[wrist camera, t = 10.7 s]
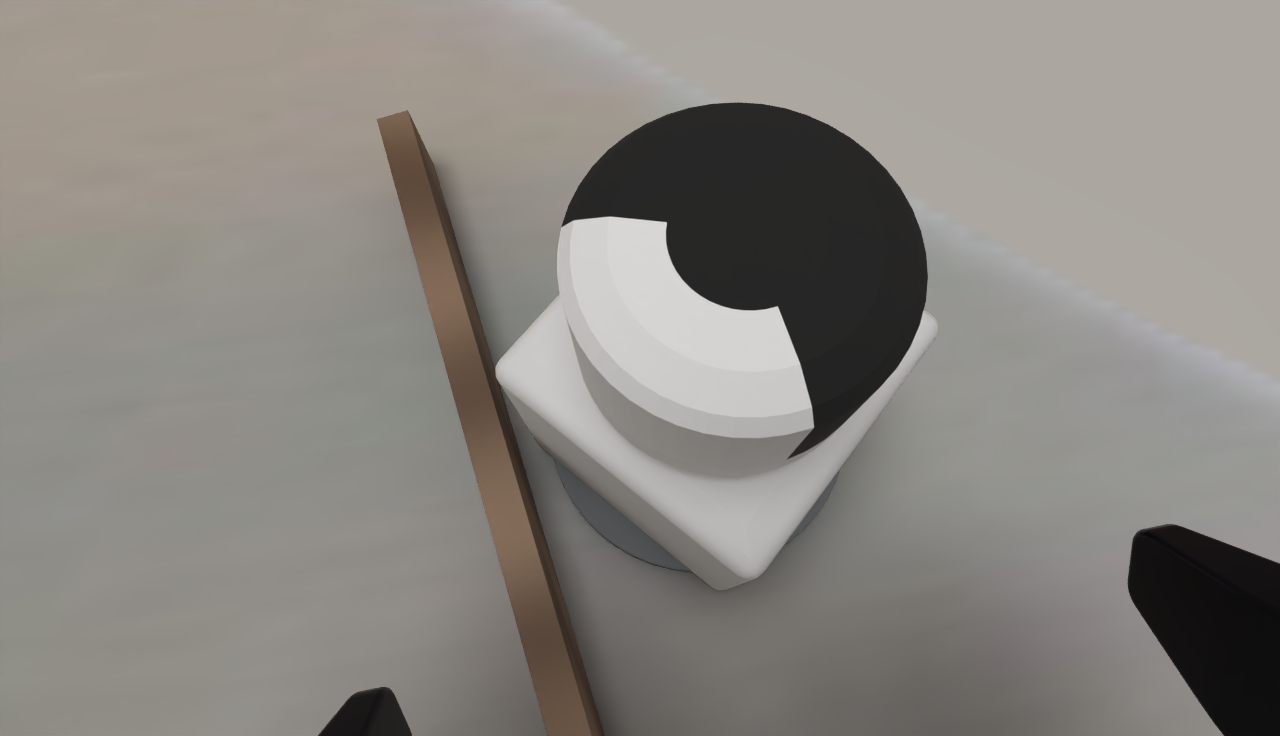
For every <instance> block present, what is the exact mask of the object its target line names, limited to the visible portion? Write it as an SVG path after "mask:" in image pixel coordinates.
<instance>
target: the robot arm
mask: <svg viewBox="0 0 1280 736" xmlns="http://www.w3.org/2000/svg"><path fill="white" fill-rule="evenodd" d="M1128 590H1129V594H1130V597H1131V599H1132V601H1133V603H1134V605H1135V606H1136V608H1137V609H1138V611H1139V612H1140V614H1141V615H1142V617H1143V618H1144V620H1145V621H1146V623H1147V624H1148V626H1149V627H1150V629H1151V630H1152V632H1153V633H1154V635H1155V636H1156V638H1157V639H1158V641H1159V642H1160V644H1161V645H1162V647H1163V648H1164V650H1165V651H1166V653H1167V654H1168V656H1169V657H1170V659H1171V660H1172V662H1173V663H1174V665H1175V666H1176V668H1177V669H1178V671H1179V672H1180V674H1181V675H1182V677H1183V678H1184V680H1185V681H1186V683H1187V684H1188V686H1189V687H1190V689H1191V690H1192V692H1193V693H1194V695H1195V696H1196V698H1197V699H1198V701H1199V702H1200V704H1201V705H1202V707H1203V708H1204V709H1205V711H1206V712H1207V714H1208V715H1209V717H1210V718H1211V719H1212V721H1213V722H1214V723H1215V725H1216V726H1217V727H1218V729H1219V730H1220V731H1221V732H1222V734H1223V735H1224V736H1280V563H1277V562H1274V561H1272V560H1269V559H1266V558H1264V557H1261V556H1258V555H1256V554H1253V553H1250V552H1248V551H1245V550H1242V549H1240V548H1237V547H1234V546H1232V545H1229V544H1226V543H1224V542H1221V541H1219V540H1216V539H1213V538H1211V537H1208V536H1205V535H1203V534H1200V533H1197V532H1195V531H1192V530H1189V529H1187V528H1184V527H1181V526H1178V525H1174V524H1166V525H1161V526H1156V527H1151V528H1147V529H1142V530H1140V531H1138V532H1137V533H1136V534H1135V536H1134V537H1133V541H1132V549H1131V558H1130V566H1129V574H1128ZM318 736H412V733H411V731H410V728H409V726H408V724H407V722H406V719H405V717H404V715H403V713H402V710H401V708H400V706H399V704H398V701H397V699H396V697H395V695H394V693H393V692H392V690H391V689H389V688H387V687H380V688H375V689H370V690H365V691H360V692H357V693H355V694H353V695H352V696H351V697H350V698H349V699H348V700H347V701H346V702H345V703H344V705H343V706H342V707H341V708H340V710H339V711H338V712H337V713H336V714H335V716H334V717H333V718H332V719H331V720H330V722H329V723H328V724H327V725H326V726H325V728H324V729H323V730H322V731H321V733H320V734H319V735H318Z"/></svg>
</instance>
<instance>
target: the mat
mask: <svg viewBox="0 0 1280 736" xmlns="http://www.w3.org/2000/svg"><path fill="white" fill-rule="evenodd" d="M555 464H556V467H557V470H558V472H559V475H560V478H561V480H562V483H563V485H564V487H565V489H566V490H567V492H568V494H569V496H570V498H571V499H572V501H573V503H574V504H575V506H576V507H577V508H578V510H579V511H580V512H581V514H582V515H583V516H584V518H585V519H586V520H587V521H588V522H589V524H590V525H591V526H592V527H593V528H594V529H595V530H596V531H597V532H598V533H599V534H600V535H602V536H603V537H604V538H605V539H607V540H608V541H609V542H611V543H612V544H613V545H615V546H616V547H617V548H619V549H621V550H623V551H624V552H626V553H628V554H630V555H631V556H633V557H635V558H638V559H640V560H643V561H645V562H647V563H650V564H653V565H656V566H660V567H664V568H668V569H672V570H680V571H688V572H692V571H691V570H690V569H689V568H687V567H686V566H685V565H684V564H683V563H681V562H680V561H679V560H678V559H676V558H675V557H674V556H673V555H672V554H670V553H669V552H668V551H667V550H665V549H664V548H663V547H662V546H661V545H659V544H658V543H657V542H656V541H654V540H653V539H652V538H651V537H650V536H648V535H647V534H646V533H645V532H643V531H642V530H641V529H640V528H639V527H637V526H636V525H635V524H634V523H633V522H631V521H630V520H629V519H628V518H626V517H625V516H624V515H623V514H622V513H620V512H619V511H618V510H617V509H615V508H614V507H613V506H612V505H611V504H609V503H608V502H607V501H606V500H604V499H603V498H602V497H601V496H600V495H598V494H597V493H596V492H595V491H593V490H592V489H591V488H590V487H589V486H587V485H586V484H585V483H584V482H583V481H581V480H580V479H579V478H578V477H576V476H575V475H574V474H573V473H572V472H570V471H569V470H568V469H567V468H565V467H564V466H563V465H562V464H561V463H559V462H558V461H557V460H556V459H555ZM839 470H840V469H839ZM838 473H839V471H838V472H837V473H836V475H835V476H834V478H833V479H832V480H831V482H830V483H829V484H828V486H827V487H826V488H825V490H824V491H823V493H822V494H821V495H820V497H819V498H818V499H817V501H816V502H815V503H814V505H813V506H812V508H811V509H810V510H809V512H808V513H807V514H806V516H805V517H804V518H803V520H802V521H801V523H800V524H799V525H798V527H797V528H796V529H795V531H794V532H793V533H792V535H791V536H790V538H789V539H788V540H787V542H786V543H785V544H787V543H788V542H790V541H791V540H792V539H793V538H794V537H796V536H797V535H798V534H799V533H800V532H801V531H803V530H804V529H805V527H806V526H807V525H808V524H809V523H810V522H811V521H812V520H813V519H814V517H815V516H816V515H817V514H818V512H819V511H820V509H821V508H822V506H823V505H824V503H825V502H826V500H827V499H828V497H829V495H830V492H831V490H832V488H833V486H834V484H835V482H836V479H837V476H838ZM785 544H784V545H785Z"/></svg>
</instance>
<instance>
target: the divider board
mask: <svg viewBox="0 0 1280 736" xmlns="http://www.w3.org/2000/svg"><path fill="white" fill-rule="evenodd" d="M377 122H378V125H379V129H380V133H381V136H382V140H383V144H384V147H385V151H386V154H387V158H388V162H389V165H390V169H391V172H392V176H393V180H394V183H395V187H396V190H397V194H398V198H399V201H400V205H401V208H402V212H403V216H404V219H405V223H406V226H407V230H408V234H409V237H410V241H411V244H412V248H413V252H414V255H415V259H416V262H417V266H418V270H419V273H420V277H421V280H422V284H423V288H424V291H425V295H426V298H427V302H428V306H429V309H430V313H431V316H432V320H433V324H434V327H435V331H436V334H437V338H438V342H439V345H440V349H441V352H442V356H443V360H444V363H445V367H446V370H447V374H448V378H449V381H450V385H451V388H452V392H453V396H454V399H455V403H456V407H457V410H458V414H459V417H460V421H461V425H462V428H463V432H464V435H465V439H466V443H467V446H468V450H469V453H470V457H471V461H472V464H473V468H474V471H475V475H476V479H477V482H478V486H479V489H480V493H481V497H482V500H483V504H484V507H485V511H486V515H487V518H488V522H489V525H490V529H491V533H492V536H493V540H494V543H495V547H496V551H497V554H498V558H499V561H500V565H501V569H502V572H503V576H504V579H505V583H506V587H507V590H508V594H509V597H510V601H511V605H512V608H513V612H514V615H515V619H516V623H517V626H518V630H519V633H520V637H521V641H522V644H523V648H524V652H525V655H526V659H527V662H528V666H529V670H530V673H531V677H532V680H533V684H534V688H535V691H536V695H537V698H538V702H539V706H540V709H541V713H542V716H543V720H544V724H545V727H546V731H547V734H548V736H604V733H603V730H602V726H601V723H600V720H599V716H598V713H597V710H596V706H595V703H594V700H593V696H592V693H591V690H590V686H589V683H588V680H587V676H586V673H585V670H584V666H583V663H582V660H581V656H580V653H579V650H578V646H577V643H576V639H575V636H574V633H573V629H572V626H571V623H570V619H569V616H568V613H567V609H566V606H565V603H564V599H563V596H562V593H561V589H560V586H559V583H558V579H557V576H556V573H555V569H554V566H553V563H552V559H551V556H550V553H549V549H548V546H547V542H546V539H545V536H544V532H543V529H542V526H541V522H540V519H539V516H538V512H537V509H536V506H535V502H534V499H533V496H532V492H531V489H530V486H529V482H528V479H527V476H526V472H525V469H524V466H523V462H522V459H521V455H520V452H519V449H518V445H517V442H516V439H515V435H514V432H513V429H512V425H511V422H510V419H509V415H508V412H507V409H506V405H505V402H504V399H503V395H502V392H501V389H500V385H499V382H498V380H497V378H496V372H495V368H494V365H493V362H492V358H491V355H490V352H489V348H488V345H487V342H486V338H485V335H484V332H483V328H482V325H481V322H480V318H479V315H478V312H477V308H476V305H475V302H474V298H473V295H472V292H471V288H470V285H469V282H468V278H467V275H466V271H465V268H464V265H463V261H462V258H461V255H460V251H459V248H458V245H457V241H456V238H455V235H454V231H453V228H452V225H451V221H450V218H449V215H448V211H447V208H446V205H445V201H444V198H443V195H442V191H441V188H440V184H439V181H438V178H437V174H436V171H435V168H434V164H433V162H432V160H431V158H430V156H429V154H428V152H427V150H426V148H425V145H424V143H423V141H422V139H421V137H420V135H419V133H418V131H417V129H416V127H415V124H414V122H413V120H412V118H411V116H410V114H409V112H408V110H407V111H404V112H401V113H397V114H394V115H390V116H387V117H383V118H380V119H377Z"/></svg>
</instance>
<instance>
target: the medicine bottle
mask: <svg viewBox="0 0 1280 736" xmlns="http://www.w3.org/2000/svg"><path fill="white" fill-rule="evenodd" d="M557 277H558V284H559V292H560V294H559V295H558V296H557V297H556V298H555V299H554V300H553V302H552V303H551V304H550V305H549V306H548V307H547V308H546V309H545V310H544V311H543V313H542V314H541V315H540V316H539V317H538V318H537V319H536V320H535V321H534V322H533V323H532V325H531V326H530V327H529V328H528V329H527V330H526V331H525V332H524V333H523V334H522V336H521V337H520V338H519V339H518V340H517V341H516V342H515V343H514V344H513V345H512V347H511V348H510V349H509V350H508V351H507V352H506V353H505V354H504V355H503V356H502V358H501V359H500V360H499V362H498V364H497V365H496V368H495V371H496V378H497V380H498V381H499V383H500V385H501V386H502V388H503V389H504V391H505V392H506V394H507V396H508V397H509V399H510V400H511V402H512V403H513V405H514V407H515V408H516V410H517V411H518V413H519V414H520V416H521V418H522V419H523V421H524V422H525V424H526V426H527V427H528V429H529V430H530V432H531V433H532V435H533V437H534V438H535V440H536V441H537V443H538V444H539V446H540V447H541V448H542V449H543V450H545V451H546V452H547V453H548V454H550V455H551V456H552V457H553V458H554V459H556V460H557V461H558V462H559V463H561V464H562V465H563V466H564V467H565V468H567V469H568V470H569V471H570V472H572V473H573V474H574V475H575V476H576V477H578V478H579V479H580V480H581V481H583V482H584V483H585V484H586V485H587V486H589V487H590V488H591V489H592V490H593V491H595V492H596V493H597V494H598V495H600V496H601V497H602V498H603V499H604V500H606V501H607V502H608V503H609V504H611V505H612V506H613V507H614V508H615V509H617V510H618V511H619V512H620V513H622V514H623V515H624V516H625V517H626V518H628V519H629V520H630V521H631V522H633V523H634V524H635V525H636V526H637V527H639V528H640V529H641V530H642V531H643V532H645V533H646V534H647V535H648V536H650V537H651V538H652V539H653V540H654V541H656V542H657V543H658V544H659V545H661V546H662V547H663V548H664V549H665V550H667V551H668V552H669V553H670V554H672V555H673V556H674V557H675V558H676V559H678V560H679V561H680V562H681V563H683V564H684V565H685V566H686V567H687V568H689V569H690V570H691V571H692V572H693V573H695V574H696V575H697V576H698V577H700V578H701V579H702V580H703V581H704V582H706V583H707V584H708V585H709V586H711V587H712V588H714V589H716V590H718V591H720V590H726V589H729V588H732V587H735V586H737V585H740V584H743V583H746V582H748V581H751V580H754V579H756V578H758V577H759V576H760V575H761V574H763V573H764V572H765V570H766V569H767V568H768V566H769V565H770V563H771V562H772V561H773V559H774V558H775V557H776V555H777V554H778V553H779V551H780V550H781V548H782V547H783V546H784V544H785V543H786V542H787V540H788V539H789V538H790V536H791V535H792V533H793V532H794V531H795V529H796V528H797V527H798V525H799V524H800V523H801V521H802V520H803V518H804V517H805V516H806V514H807V513H808V512H809V510H810V509H811V508H812V506H813V505H814V503H815V502H816V501H817V499H818V498H819V497H820V495H821V494H822V493H823V491H824V490H825V488H826V487H827V486H828V484H829V483H830V482H831V480H832V479H833V478H834V476H835V475H836V473H837V472H838V471H839V469H840V468H841V467H842V465H843V464H844V463H845V461H846V460H847V458H848V457H849V456H850V454H851V453H852V452H853V450H854V449H855V447H856V446H857V445H858V443H859V442H860V441H861V439H862V438H863V437H864V435H865V434H866V432H867V431H868V430H869V428H870V427H871V426H872V424H873V423H874V422H875V420H876V419H877V417H878V416H879V415H880V413H881V412H882V411H883V409H884V408H885V407H886V405H887V404H888V402H889V401H890V400H891V398H892V397H893V396H894V394H895V393H896V392H897V390H898V389H899V387H900V386H901V385H902V383H903V382H904V381H905V379H906V378H907V377H908V375H909V374H910V372H911V371H912V370H913V368H914V367H915V366H916V364H917V363H918V362H919V360H920V359H921V357H922V356H923V355H924V353H925V352H926V351H927V349H928V348H929V347H930V345H931V344H932V342H933V341H934V340H935V338H936V335H937V332H938V328H939V327H938V323H937V320H936V319H935V318H934V317H933V316H932V315H931V314H929V313H928V312H926V311H925V310H924V306H925V302H926V292H927V280H928V274H927V260H926V251H925V247H924V243H923V238H922V234H921V230H920V228H919V225H918V222H917V220H916V217H915V215H914V212H913V210H912V208H911V206H910V204H909V202H908V201H907V199H906V197H905V195H904V193H903V192H902V190H901V188H900V187H899V186H898V184H897V183H896V182H895V180H894V179H893V178H892V176H891V175H890V174H889V173H888V171H887V170H886V169H885V168H884V167H883V166H882V165H881V164H880V163H879V162H878V161H877V160H876V159H875V158H874V157H873V156H872V155H871V154H870V153H869V152H868V151H867V150H865V149H864V148H863V147H862V146H860V145H859V144H858V143H856V142H855V141H854V140H853V139H851V138H850V137H848V136H847V135H845V134H843V133H841V132H840V131H838V130H836V129H835V128H833V127H831V126H829V125H828V124H825V123H823V122H821V121H819V120H816V119H814V118H812V117H810V116H807V115H805V114H801V113H798V112H795V111H792V110H788V109H785V108H780V107H775V106H770V105H764V104H753V103H752V104H751V103H720V104H709V105H704V106H698V107H692V108H688V109H684V110H681V111H678V112H674V113H671V114H668V115H665V116H663V117H661V118H658V119H656V120H654V121H652V122H649V123H647V124H645V125H643V126H642V127H640V128H638V129H637V130H635V131H633V132H632V133H630V134H628V135H627V136H625V137H624V138H623V139H621V140H620V141H619V142H618V143H616V144H615V145H614V146H613V147H611V148H610V149H609V150H608V151H607V152H606V153H605V154H604V155H603V156H602V157H601V158H600V159H599V160H598V161H597V162H596V163H595V164H594V166H593V167H592V168H591V169H590V171H589V172H588V173H587V175H586V176H585V178H584V179H583V181H582V182H581V183H580V185H579V186H578V188H577V190H576V192H575V194H574V196H573V198H572V200H571V202H570V204H569V206H568V209H567V212H566V215H565V218H564V221H563V224H562V227H561V232H560V238H559V244H558V250H557Z"/></svg>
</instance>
